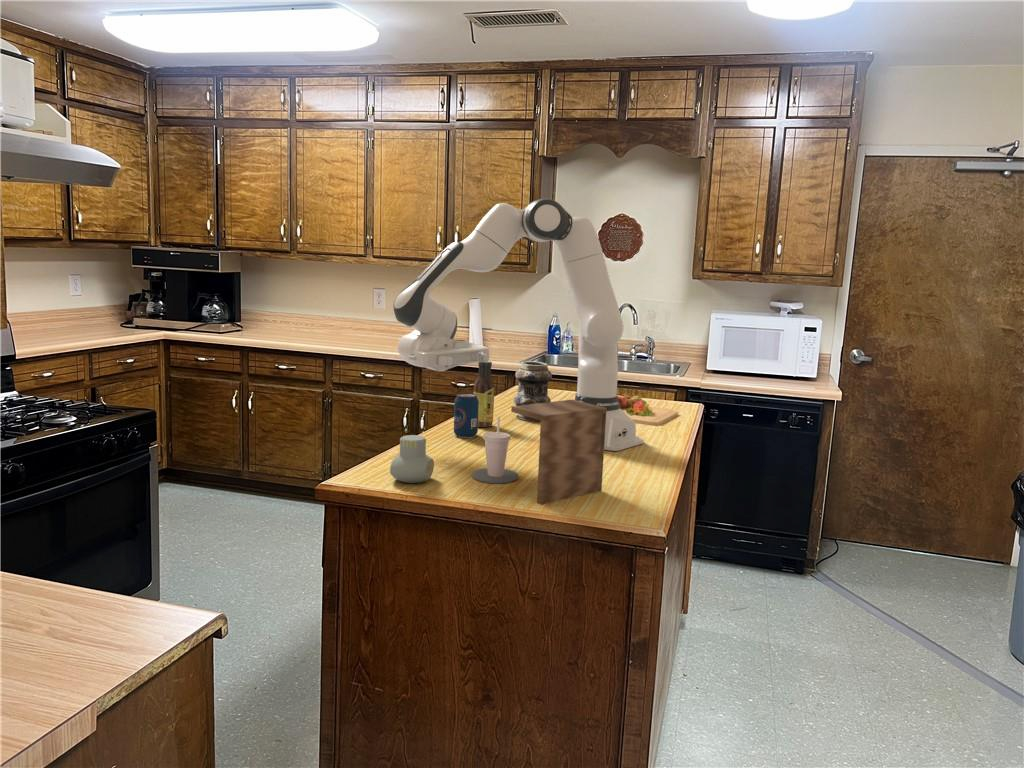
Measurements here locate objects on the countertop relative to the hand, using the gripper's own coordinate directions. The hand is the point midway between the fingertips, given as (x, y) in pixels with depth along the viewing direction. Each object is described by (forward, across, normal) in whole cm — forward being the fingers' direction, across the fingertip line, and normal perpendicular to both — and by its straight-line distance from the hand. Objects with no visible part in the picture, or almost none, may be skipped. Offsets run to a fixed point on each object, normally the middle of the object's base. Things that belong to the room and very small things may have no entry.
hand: (470, 359), depth 194 cm
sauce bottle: (-32, +28, +26) cm, 50 cm away
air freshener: (+6, -20, +26) cm, 34 cm away
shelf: (+30, +2, +27) cm, 40 cm away
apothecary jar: (-34, +49, +27) cm, 65 cm away
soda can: (-24, +16, +26) cm, 39 cm away
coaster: (+14, -3, +26) cm, 30 cm away
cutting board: (-26, +81, +28) cm, 89 cm away
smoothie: (+14, -3, +26) cm, 29 cm away
